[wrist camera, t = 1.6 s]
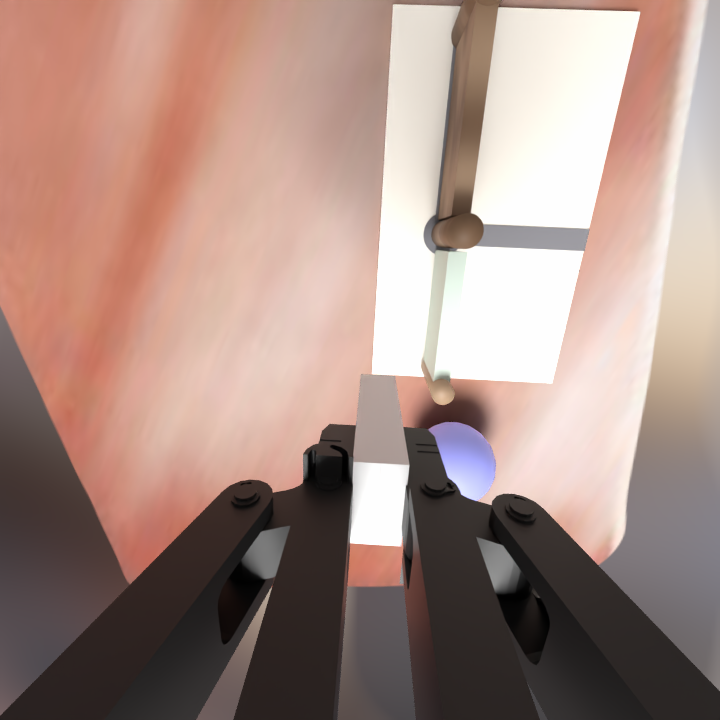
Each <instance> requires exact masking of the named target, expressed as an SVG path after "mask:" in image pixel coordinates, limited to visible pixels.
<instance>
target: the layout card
mask: <svg viewBox="0 0 720 720" xmlns="http://www.w3.org/2000/svg"><path fill="white" fill-rule="evenodd" d="M460 8H461V6H437V5H404V4H393V13H392V30H391V48H390V65H389V83H388V100H387V118H386V135H385V153H384V170H383V188H382V205H381V223H380V240H379V258H378V275H377V293H376V310H375V328H374V345H373V363H372V374H385V375H404V376H423V377H424V375H423V372H422V369H421V363H422V361H423V360H424V354H425V345H426V335H427V326H428V317H429V307H430V298H431V288H432V279H433V270H434V260H435V251H436V250H448V251H459V252H467V260H466V267H465V274H464V282H463V289H462V297H461V304H460V311H459V319H458V326H457V334H456V341H455V348H454V356H453V363H452V370H451V378H461V379H480V380H499V381H518V382H537V383H552V382H553V378H554V374H555V369H556V365H557V361H558V357H559V352H560V348H561V344H562V340H563V336H564V331H565V327H566V323H567V319H568V315H569V310H570V306H571V302H572V298H573V294H574V289H575V285H576V281H577V277H578V273H579V268H580V264H581V260H582V256H583V252H584V250H585V246H586V242H587V238H588V234H589V230H590V229H589V226H590V222H591V218H592V214H593V210H594V205H595V201H596V197H597V193H598V188H599V184H600V180H601V176H602V172H603V167H604V163H605V159H606V155H607V151H608V146H609V142H610V138H611V134H612V130H613V125H614V121H615V117H616V113H617V109H618V104H619V100H620V96H621V92H622V88H623V83H624V79H625V75H626V71H627V67H628V62H629V58H630V54H631V50H632V45H633V41H634V37H635V33H636V29H637V24H638V20H639V16H640V12H635V11H602V10H569V9H536V8H503V7H498V13H497V21H496V28H495V36H494V43H493V51H492V58H491V66H490V73H489V80H488V88H487V95H486V103H485V110H484V118H483V125H482V133H481V140H480V148H479V155H478V163H477V170H476V178H475V185H474V193H473V200H472V208H471V213H472V214H475V215H477V216H478V217H479V218H480V219H481V220H482V222H483V226H484V233H483V236H482V239H481V240H480V242H479V243H478V244H477V245H476V246H474V247H472V248H469V249H456V248H442V247H438V246H437V245H435V244H434V242H433V241H432V237H431V233H432V229H433V227H434V226H435V225H436V224H437V223H438V222H440V221H443V220H438V215H439V205H440V196H441V187H442V177H443V168H444V158H445V149H446V139H447V130H448V121H449V111H450V102H451V92H452V83H453V74H454V64H455V55H456V48H455V47H454V45H453V44H452V40H451V34H452V29H453V27H454V24H455V21H456V19H457V16H458V13H459V11H460Z"/></svg>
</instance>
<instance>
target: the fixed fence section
mask: <svg viewBox="0 0 720 720" xmlns="http://www.w3.org/2000/svg"><path fill="white" fill-rule="evenodd" d="M501 1H502V0H463V2H462V5H461V8H460V11H459V13H458V16H457V19H456V21H455V24H454V27H453V29H452V34H451V40H452V44H453V45H454V47H455V48H456V55H455V64H454V74H453V83H452V92H451V102H450V111H449V121H448V130H447V139H446V149H445V158H444V168H443V177H442V187H441V196H440V205H439V215H438V220H443V221H440V222H438V223H437V224H436V225H435V226H434V227H433V229H432V233H431V237H432V241H433V242H434V244H435V245H437V246H438V247H442V248H456V249H469V248H472V247H474V246H476V245H477V244H478V243H479V242H480V240H481V239H482V236H483V233H484V226H483V222H482V220H481V219H480V218H479V217H478V216H477V215H475V214H472V213H471V208H472V200H473V193H474V185H475V178H476V170H477V163H478V155H479V148H480V140H481V133H482V125H483V118H484V110H485V103H486V95H487V88H488V80H489V73H490V66H491V58H492V51H493V43H494V36H495V28H496V21H497V13H498V7H499V5H500V3H501Z"/></svg>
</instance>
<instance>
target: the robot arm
mask: <svg viewBox="0 0 720 720" xmlns="http://www.w3.org/2000/svg"><path fill="white" fill-rule="evenodd" d="M402 536H403V546H404V548H403V558H402V567H401V577H400V584H404V591H405V603H406V614H407V626H408V637H409V649H410V661H411V672H412V683H413V695H414V707H415V718H416V720H540V719H539V716H538V713H537V710H536V707H535V704H534V702H533V699H532V696H531V693H530V690H529V687H528V685H529V686H530V688H531V690H532V692H533V694H534V695H535V697H536V699H537V701H538V703H539V705H540V706H541V708H542V710H543V712H544V714H545V716H546V717H547V719H548V720H720V691H719V690H718V689H717V688H716V687H715V686H714V685H713V684H712V683H711V682H710V681H709V680H708V679H707V678H706V677H705V676H704V675H703V674H702V673H701V671H700V670H699V669H698V668H697V667H696V666H695V665H694V664H693V663H692V662H691V661H690V660H689V659H688V658H687V657H686V656H685V655H684V654H683V653H682V652H681V651H680V650H679V649H678V648H677V647H676V646H675V645H674V644H673V642H672V641H671V640H670V639H669V638H668V637H667V636H666V635H665V634H664V633H663V632H662V631H661V630H660V629H659V628H658V627H657V626H656V625H655V624H654V623H653V622H652V621H651V620H650V619H649V618H648V617H647V616H646V614H644V612H643V611H642V610H641V609H640V608H639V607H638V606H637V605H636V604H635V603H634V602H633V601H632V600H631V599H630V598H629V597H628V596H627V595H626V594H625V593H624V592H623V591H622V590H621V589H620V588H619V587H618V585H617V584H616V583H615V582H614V581H613V580H612V579H611V578H610V577H609V576H608V575H607V574H606V573H605V572H604V571H603V570H602V569H601V568H600V567H599V566H598V565H597V564H596V563H595V562H594V561H593V560H592V559H591V557H590V556H589V555H588V554H587V553H586V552H585V551H584V550H583V549H582V548H581V547H580V546H579V545H578V544H577V543H576V542H575V541H574V540H573V539H572V538H571V537H570V536H569V535H568V534H567V533H566V532H565V531H564V530H563V528H562V527H561V526H560V525H559V524H558V523H557V522H556V521H555V520H554V519H553V518H552V517H551V516H550V515H549V514H548V513H547V512H546V511H545V510H544V509H543V508H542V507H541V506H539V505H538V504H537V503H536V502H534V501H532V500H530V499H528V498H526V497H523V496H519V495H516V494H502V495H499V496H497V497H496V498H495V499H494V500H493V501H492V505H488V504H485V503H481V502H478V501H475V500H472V499H469V498H467V497H465V496H463V495H461V492H460V490H459V488H458V486H457V485H456V483H454V482H453V481H452V480H450V479H449V478H448V476H447V473H446V470H445V467H444V464H443V461H442V458H441V455H440V451H439V448H438V447H437V442H436V439H435V436H434V435H433V434H432V433H431V432H430V431H429V430H428V429H426V428H408V427H403V422H402V416H401V410H400V404H399V398H398V392H397V386H396V380H395V376H387V375H368V374H361V379H360V390H359V400H358V410H357V421H356V426H355V425H337V424H329V425H328V426H327V427H326V428H325V429H324V430H323V431H322V433H321V437H320V441H319V444H315V445H313V446H311V447H309V448H308V449H307V450H306V451H305V452H304V454H303V484H301V485H300V486H298V487H295V488H293V489H290V490H286V491H280V492H274V493H273V492H272V488H271V487H270V486H269V485H268V484H267V483H265V482H262V481H259V480H246V481H240V482H238V483H235V484H233V485H230V486H229V487H228V488H226V489H225V490H224V491H223V492H222V493H221V494H220V495H219V496H218V497H217V498H216V499H215V500H214V501H213V502H212V503H211V504H210V505H209V506H208V507H207V508H206V509H205V510H204V511H203V512H202V513H201V514H200V515H199V516H198V517H197V518H196V519H195V520H194V521H193V522H192V523H191V524H190V525H189V526H188V527H187V528H186V529H185V530H184V531H183V532H182V533H181V534H180V535H179V536H178V537H177V538H176V539H175V540H174V541H173V542H172V543H171V544H170V545H169V546H168V547H167V548H166V549H165V550H164V551H163V552H162V553H161V554H160V555H159V556H158V557H157V558H156V559H155V560H154V561H153V562H152V563H151V564H150V565H149V566H148V567H147V568H146V569H145V570H144V571H143V572H142V573H141V574H140V575H139V576H138V577H137V578H136V579H135V580H134V581H133V582H132V583H131V584H130V585H129V586H128V587H127V588H126V589H125V590H124V591H123V592H122V593H121V594H120V595H119V597H117V598H116V600H115V601H114V602H113V603H112V604H111V605H110V606H109V607H108V608H107V609H106V610H105V611H104V612H103V613H102V614H101V615H100V616H99V617H98V618H97V619H96V620H95V621H94V622H93V623H92V624H91V625H90V626H89V627H88V628H87V629H86V630H85V631H84V632H83V633H82V634H81V635H80V636H79V637H78V638H77V639H76V640H75V641H74V642H73V643H72V644H71V645H70V646H69V647H68V648H67V649H66V650H65V651H64V652H63V653H62V654H61V655H60V656H59V657H58V658H57V659H56V660H55V661H54V662H53V663H52V664H51V665H50V666H49V667H48V668H47V669H46V670H45V671H44V672H43V673H42V675H40V676H39V677H38V678H37V679H36V680H35V681H34V682H33V683H32V684H31V685H30V686H29V687H28V688H27V689H26V690H25V692H23V693H22V694H21V695H20V696H19V698H17V699H16V701H15V702H14V703H13V704H11V705H10V707H9V708H8V709H7V710H6V711H5V712H4V713H3V714H2V715H1V716H0V720H196V719H197V717H198V715H199V713H200V712H201V710H202V708H203V706H204V705H205V703H206V701H207V699H208V698H209V696H210V694H211V692H212V690H213V689H214V687H215V685H216V683H217V682H218V680H219V678H220V676H221V674H222V673H223V671H224V669H225V668H226V666H227V664H228V662H229V660H230V659H231V657H232V655H233V653H234V652H235V650H236V648H237V646H238V645H239V643H240V641H241V639H242V638H243V636H244V634H245V632H246V630H247V629H248V627H249V625H250V623H251V621H252V620H253V618H254V616H255V615H256V612H257V611H258V609H259V607H260V606H261V604H262V602H263V600H264V599H265V597H266V595H267V593H268V592H269V590H270V588H271V586H272V585H273V586H272V590H271V593H270V597H269V600H268V604H267V607H266V611H265V614H264V617H263V621H262V624H261V628H260V631H259V634H258V638H257V641H256V645H255V648H254V651H253V655H252V658H251V662H250V665H249V668H248V672H247V675H246V679H245V682H244V686H243V689H242V692H241V696H240V699H239V703H238V706H237V709H236V713H235V716H234V720H337V719H338V705H339V691H340V677H341V664H342V651H343V636H344V624H345V610H346V597H347V583H348V569H349V553H350V543H358V544H374V545H389V546H401V544H402ZM527 683H528V685H527Z"/></svg>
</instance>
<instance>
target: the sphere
mask: <svg viewBox="0 0 720 720" xmlns="http://www.w3.org/2000/svg"><path fill="white" fill-rule="evenodd" d="M428 430H429V431H430V432H431V433H432V434H433V435H434V436H435V439H436V442H437V447H438V448H439V451H440V455H441V458H442V461H443V464H444V467H445V470H446V473H447V476H448V478H449V479H450V480H452V481H453V482H454V483H456V485H457V486H458V488H459V490H460V492H461V495H463V496H465V497H467V498H469V499H472V500H475V501H477V500H479V499H480V498H482V497H483V496H484V495H485V494H486V493H487V492H488V491H489V489H490V487H491V485H492V482H493V480H494V478H495V469H496V461H495V457H494V454H493V451H492V448H491V446H490V444H489V443H488V442H487V440H486V439H485V438H484V437H483V435H482V434H481V433H480V432H478V431H477V430H475V429H474V428H472V427H470V426H469V425H466V424H462V423H458V422H444V423H441V424H437V425H434V426H433V427H431V428H430V429H428Z"/></svg>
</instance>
